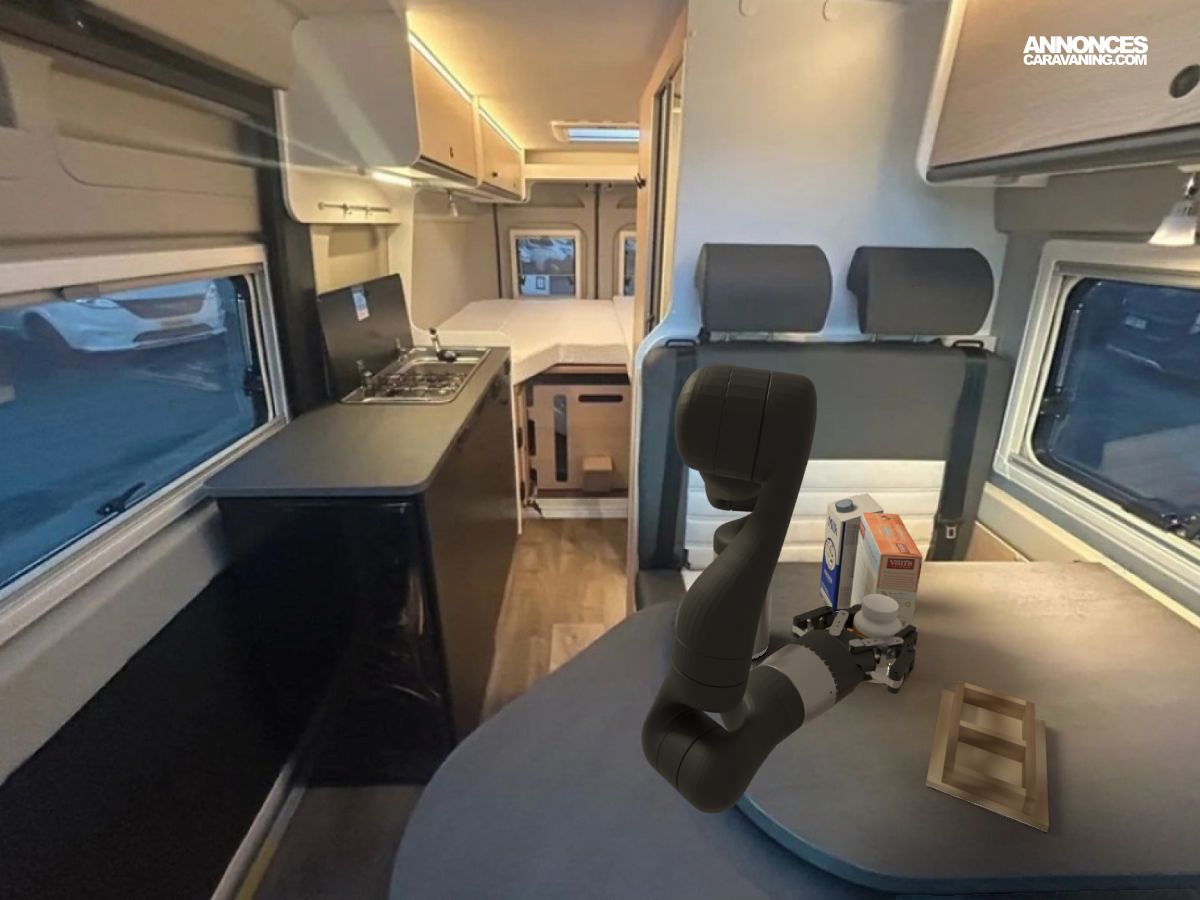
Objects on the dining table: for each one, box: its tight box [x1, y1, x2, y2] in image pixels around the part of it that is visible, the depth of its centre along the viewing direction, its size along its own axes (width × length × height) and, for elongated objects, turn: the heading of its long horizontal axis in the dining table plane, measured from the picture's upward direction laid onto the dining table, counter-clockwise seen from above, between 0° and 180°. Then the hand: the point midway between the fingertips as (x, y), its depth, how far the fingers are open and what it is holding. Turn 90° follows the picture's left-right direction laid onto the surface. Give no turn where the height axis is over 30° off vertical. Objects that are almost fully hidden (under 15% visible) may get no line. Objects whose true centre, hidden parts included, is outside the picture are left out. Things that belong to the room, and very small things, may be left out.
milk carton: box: [819, 493, 885, 611], centre depth 107 cm, size 7×7×20 cm
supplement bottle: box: [852, 594, 902, 684], centre depth 75 cm, size 5×5×10 cm
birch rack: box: [925, 680, 1050, 833], centre depth 78 cm, size 12×18×4 cm, turn 147°
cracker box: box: [850, 512, 924, 632], centre depth 95 cm, size 14×6×21 cm, turn 168°
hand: (888, 620), depth 76 cm, fingers closed on supplement bottle, 5 cm apart
